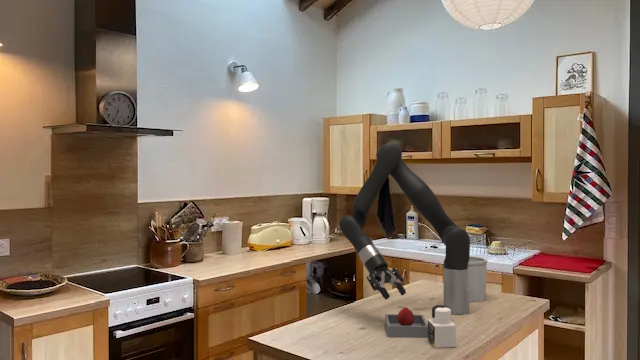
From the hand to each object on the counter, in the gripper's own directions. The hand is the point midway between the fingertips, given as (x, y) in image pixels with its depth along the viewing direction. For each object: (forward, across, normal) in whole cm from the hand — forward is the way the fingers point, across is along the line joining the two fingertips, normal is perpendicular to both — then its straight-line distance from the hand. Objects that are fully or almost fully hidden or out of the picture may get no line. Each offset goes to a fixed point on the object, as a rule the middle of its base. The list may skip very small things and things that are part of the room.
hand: (396, 296), depth 175 cm
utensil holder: (+4, +53, +12) cm, 55 cm away
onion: (+11, 0, +5) cm, 12 cm away
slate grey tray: (+11, 0, +5) cm, 12 cm away
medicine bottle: (+22, -1, -6) cm, 23 cm away
